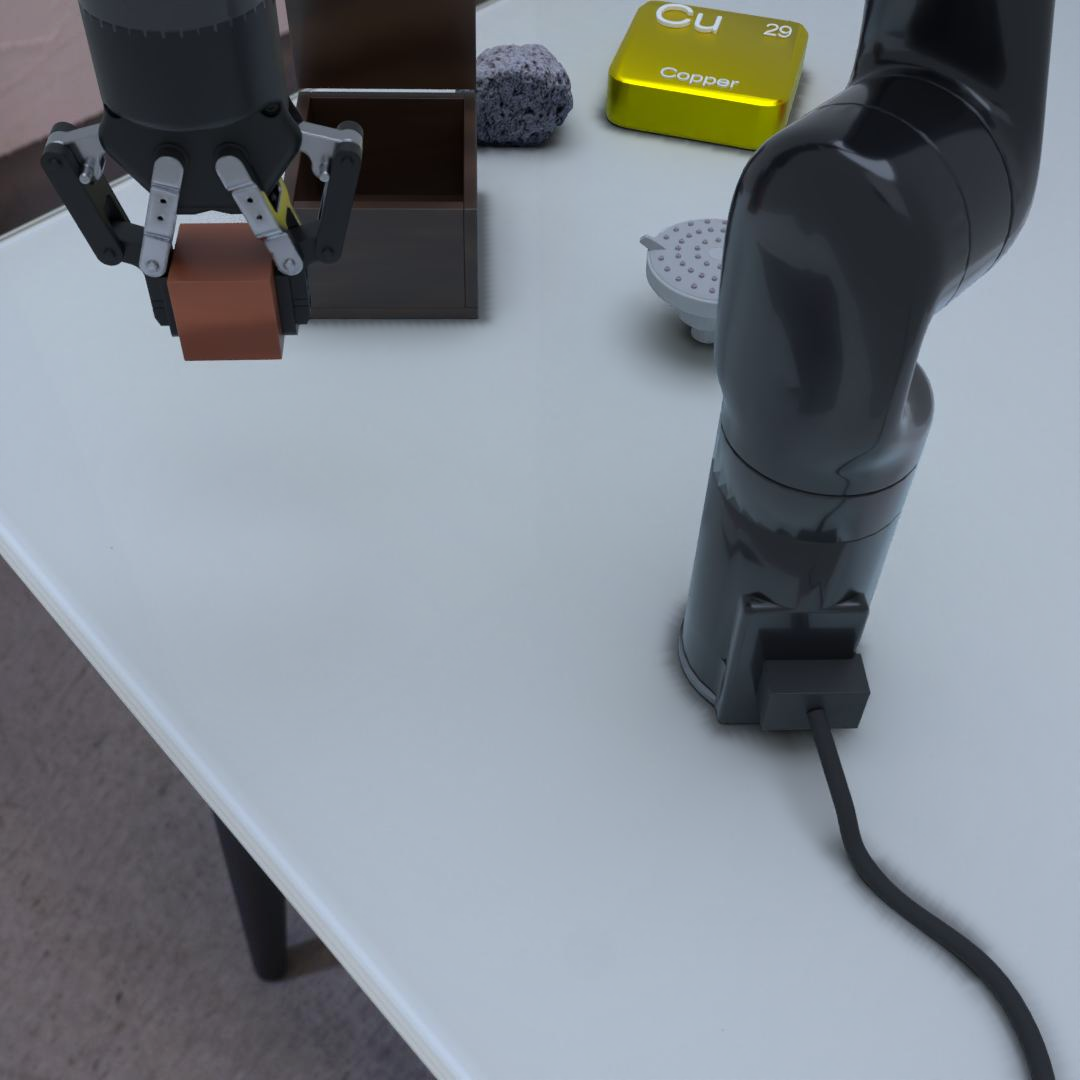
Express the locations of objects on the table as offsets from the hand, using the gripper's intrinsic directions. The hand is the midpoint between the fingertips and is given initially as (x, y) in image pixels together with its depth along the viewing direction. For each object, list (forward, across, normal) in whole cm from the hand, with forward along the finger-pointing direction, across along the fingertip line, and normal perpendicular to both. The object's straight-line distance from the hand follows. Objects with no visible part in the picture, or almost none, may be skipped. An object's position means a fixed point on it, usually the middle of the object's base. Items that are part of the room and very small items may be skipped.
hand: (237, 324), depth 63 cm
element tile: (+17, +32, +52) cm, 64 cm away
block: (0, 0, 0) cm, 0 cm away
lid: (0, +6, +35) cm, 36 cm away
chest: (+17, +6, +30) cm, 35 cm away
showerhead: (+17, +28, +20) cm, 38 cm away
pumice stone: (+17, +16, +47) cm, 53 cm away
